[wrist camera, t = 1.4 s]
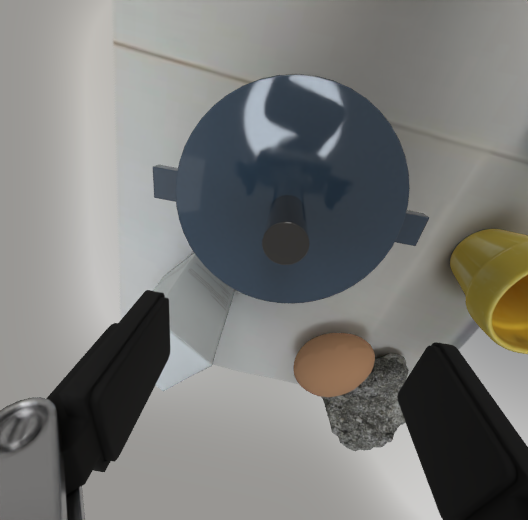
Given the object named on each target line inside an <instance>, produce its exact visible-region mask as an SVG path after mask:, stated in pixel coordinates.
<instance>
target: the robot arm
mask: <svg viewBox="0 0 528 520" xmlns="http://www.w3.org/2000/svg"><path fill="white" fill-rule="evenodd" d="M169 355H170V315H169V299H168V298H165V295H164V293H161V292H155V291H150V290H147V291H145V292H144V293H143V295H142V296H141V297H140V298H139V299H138V300H137V302H136V303H135V304H134V305H133V306H132V308H131V309H130V310H129V311H128V312H127V314H126V315H125V316H124V317H123V318H122V320H121V321H120V322H119V323H114V324H112V325H111V326H110V327H109V328H108V329H107V330H106V331H105V332H104V333H103V334H102V336H101V337H100V338H99V339H98V340H97V341H96V342H95V344H94V345H93V346H92V347H91V348H90V349H89V350H88V352H87V353H86V354H85V355H84V356H83V358H81V360H80V361H79V362H78V363H77V364H76V365H75V367H74V368H73V369H72V370H71V371H70V372H69V373H68V375H67V376H66V377H65V378H64V379H63V380H62V381H61V383H60V384H59V385H58V386H57V387H56V388H55V390H54V391H53V392H52V393H51V394H50V395H49V396H48V398H47V399H45V398H41V397H39V398H28V399H24V400H20V401H18V402H15V403H13V404H11V405H9V406H6V407H5V408H3V409H2V410H0V520H85V513H84V503H83V494H82V493H83V492H82V485H84V484H85V483H86V481H87V479H88V477H89V476H90V474H91V472H92V470H95V471H100V472H105V470H106V468H107V466H108V465H109V463H110V461H115V460H117V458H118V457H119V455H120V453H121V451H122V449H123V447H124V445H125V443H126V442H127V440H128V438H129V435H130V434H131V432H132V430H133V428H134V425H135V424H136V422H137V420H138V418H139V416H140V414H141V412H142V410H143V408H144V406H145V404H146V402H147V400H148V398H149V396H150V394H151V392H152V390H153V388H154V386H155V385H156V383H157V381H158V379H159V377H160V375H161V373H162V371H163V369H164V367H165V365H166V363H167V361H168V359H169ZM398 403H399V406H400V408H401V411H402V414H403V416H404V419H405V422H406V424H407V427H408V430H409V432H410V435H411V438H412V441H413V443H414V446H415V449H416V451H417V454H418V457H419V459H420V462H421V465H422V467H423V470H424V473H425V475H426V478H427V481H428V483H429V486H430V489H431V491H432V494H433V497H434V499H435V502H436V505H437V508H438V510H439V513H440V515H441V517H442V518H443V520H528V447H527V446H526V444H525V443H524V441H523V440H522V439H521V437H520V436H519V435H518V433H517V432H516V430H515V429H514V427H513V426H512V425H511V423H510V422H509V420H508V419H507V418H506V416H505V415H504V413H503V412H502V411H501V409H500V408H499V406H498V405H497V404H496V402H495V401H494V399H493V398H492V397H491V395H490V394H489V392H488V391H487V390H486V388H485V387H484V385H483V384H482V383H481V381H480V380H479V378H478V377H477V376H476V374H475V373H474V371H473V370H472V369H471V367H470V366H469V364H468V363H467V362H466V360H465V359H464V357H463V356H462V355H461V353H460V352H459V350H458V349H457V348H456V347H455V346H453V345H448V344H443V343H433V344H432V345H431V346H428V347H427V348H426V350H425V351H424V353H423V354H422V356H421V357H420V359H419V361H418V362H417V364H416V365H415V367H414V368H413V370H412V372H411V373H410V375H409V376H408V378H407V379H406V381H405V383H404V384H403V386H402V387H401V389H400V390H399V392H398Z"/></svg>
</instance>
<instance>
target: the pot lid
mask: <svg viewBox="0 0 528 520" xmlns="http://www.w3.org/2000/svg"><path fill="white" fill-rule="evenodd" d="M408 198H409V174H408V168H407V163H406V158H405V154H404V152H403V149H402V146H401V143H400V141H399V139H398V137H397V135H396V133H395V132H394V130H393V128H392V126H391V124H390V123H389V122H388V121H387V119H386V118H385V117H384V116H383V114H382V113H381V112H380V111H379V110H378V109H377V108H376V107H375V106H374V105H373V104H372V103H371V102H370V101H369V100H367V99H366V98H365V97H363V96H362V95H360V94H359V93H357V92H356V91H354V90H353V89H351V88H349V87H347V86H345V85H342V84H340V83H338V82H336V81H333V80H329V79H325V78H322V77H318V76H311V75H301V74H291V75H277V76H273V77H268V78H263V79H259V80H257V81H254V82H252V83H249V84H247V85H244V86H242V87H240V88H238V89H237V90H235V91H233V92H231V93H230V94H228V95H227V96H225V97H224V98H223V99H221V100H220V101H219V102H218V103H216V104H215V105H214V106H213V107H212V108H211V109H210V110H209V111H208V112H207V113H206V114H205V115H204V116H203V117H202V119H201V120H200V121H199V123H198V124H197V126H196V127H195V129H194V130H193V131H192V133H191V135H190V137H189V139H188V141H187V143H186V145H185V147H184V150H183V153H182V156H181V159H180V162H179V167H178V172H177V178H176V204H177V210H178V215H179V220H180V223H181V226H182V229H183V232H184V234H185V237H186V239H187V241H188V243H189V245H190V246H191V248H192V250H193V251H194V253H195V254H196V256H197V257H198V258H199V260H200V261H201V262H202V263H203V265H204V266H205V267H206V268H207V269H208V270H209V271H210V272H211V273H212V274H213V275H214V276H216V277H217V278H218V279H220V280H221V281H222V282H223V283H225V284H227V285H228V286H230V287H231V288H233V289H235V290H237V291H239V292H241V293H243V294H245V295H248V296H251V297H254V298H256V299H261V300H265V301H269V302H277V303H304V302H311V301H316V300H320V299H324V298H327V297H330V296H333V295H335V294H337V293H340V292H342V291H344V290H346V289H348V288H350V287H351V286H353V285H355V284H356V283H358V282H359V281H360V280H362V279H363V278H365V277H366V276H367V275H368V274H369V273H370V272H371V271H373V270H374V269H375V268H376V267H377V266H378V264H379V263H380V262H381V261H382V260H383V259H384V258H385V256H386V255H387V253H388V252H389V250H390V249H391V248H392V246H393V244H394V242H395V240H396V239H397V237H398V235H399V233H400V230H401V227H402V225H403V222H404V219H405V215H406V210H407V206H408Z"/></svg>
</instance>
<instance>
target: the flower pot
mask: <svg viewBox="0 0 528 520" xmlns="http://www.w3.org/2000/svg"><path fill="white" fill-rule="evenodd" d="M450 267H451V270H452V272H453V274H454V276H455V277H456V279H457V281H458V283H459V284H460V286H461V288H462V290H463V292H464V293H465V295H466V306H467V309H468V312H469V314H470V315H471V317H472V318H473V319H474V321H475V322H476V323H477V324H478V325H479V327H480V328H481V329H482V330H483V331H484V332H485V333H486V334H487V335H488V336H489V337H490V338H491V339H492V340H493V341H494V342H495V343H497V344H498V345H500V346H502V347H503V348H505V349H508V350H511V351H513V352H517V353H523V354H528V235H524V234H519V233H515V232H510V231H506V230H501V229H486V230H482V231H479V232H476V233H473V234H471V235H470V236H468V237H466V238H465V239H464V240H463V241H461V242H460V243H459V244H458V245H457V247H456V248H455V249H454V251H453V253H452V255H451V259H450Z"/></svg>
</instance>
